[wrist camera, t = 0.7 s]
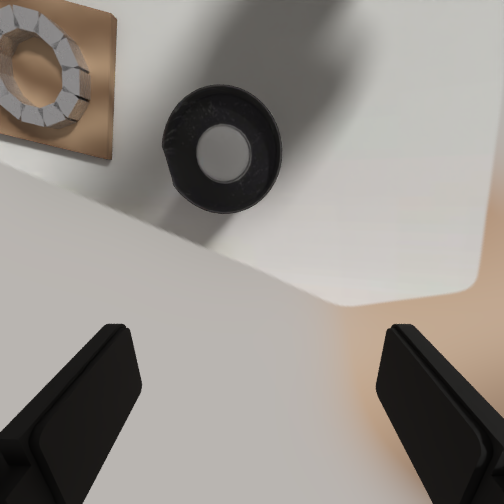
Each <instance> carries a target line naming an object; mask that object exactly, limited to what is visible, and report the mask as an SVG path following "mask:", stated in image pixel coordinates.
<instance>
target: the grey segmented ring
mask: <svg viewBox="0 0 504 504" xmlns="http://www.w3.org/2000/svg"><path fill="white" fill-rule="evenodd" d="M32 37H35V38H39V39H43V40H44V41H46V42H47V43H48V44H49V45H50V46H51V47H52V48H53V50H54V52H55V54H56V57H57V59H58V61H59V63H60V65H61V67H62V90H61V91H60V93H59V95H58V97H57V99H56V100H55V102H54V103H52V104H49V105H47V106H44V107H41V108H38V107H36V106H35V105H34V104H33V103H31V102H30V101H29V100H28V99H27V98H26V97H24V96H23V94H22V93H21V91H20V89H19V87H18V85H17V83H16V81H15V79H14V77H13V65H12V57H13V55H14V53H15V51H16V49H17V47H18V45H19V43H21V42H23V41H26V40H28V39H30V38H32ZM89 72H90V71H89V68H88V66H87V64H86V61H85V59H84V57H83V55H82V52H81V50H80V48H79V46H78V45H76V42H75V41H74V40H73V39H72V38H71V37H70V36H69V35H68V34H67V33H66V32H65V31H64V30H62V29H61V28H60V27H59V26H58V25H57V24H56V23H55V22H53V21H52V20H50V19H49V18H48V17H46V16H45V15H43V14H42V13H40V12H39V11H35V10H32V9H28V8H24V7H21V6H17V5H13V7H12V6H11V5H7V6H5V7H3V8H1V9H0V105H1V106H3V107H4V108H5V109H6V110H7V111H9V112H10V113H11V114H12V115H14V116H15V117H16V118H17V119H18V120H21V121H23V122H27V123H31V124H35V125H39V126H43V127H48V128H53V129H61V128H63V127H66V126H69V125H71V124H74V123H76V122H77V121H76V120H80V118H81V117H82V115H83V113H84V112H85V110H86V109H87V107H88V105H89V104H90V103H89V102H88V101H87V100H86V99H88V100H91V75H89V74H87V73H89Z"/></svg>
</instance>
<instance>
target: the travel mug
mask: <svg viewBox="0 0 504 504" xmlns="http://www.w3.org/2000/svg"><path fill="white" fill-rule="evenodd" d="M162 148H163V150H164V153H165V156H166V160H167V163H168V167H169V170H170V173H171V177H172V180H173V185H174V187H175V188H176V190H177V191H178V192H179V193H180V194H181V195H182V196H183V197H184V198H186V199H187V200H188V201H189V202H191V203H192V204H194V205H195V206H197V207H199V208H201V209H203V210H206V211H209V212H213V213H220V214H230V213H236V212H240V211H243V210H246V209H248V208H250V207H252V206H254V205H255V204H257V203H258V202H259V201H261V200H262V199H263V198H264V197H265V196H266V195H267V193H268V192H269V191H270V190H271V188H272V186H273V185H274V183H275V181H276V179H277V176H278V174H279V170H280V167H281V161H282V142H281V137H280V133H279V130H278V127H277V124H276V122H275V120H274V118H273V116H272V115H271V113H270V112H269V110H268V109H267V108H266V107H265V105H264V104H263V103H262V102H261V101H260V100H259V99H257V98H256V97H255V96H253V95H252V94H250V93H249V92H247V91H245V90H243V89H241V88H238V87H234V86H230V85H210V86H206V87H203V88H200V89H197V90H195V91H194V92H192V93H190V94H189V95H187V96H186V97H185V98H184V99H183V100H182V101H181V102H179V103H178V105H177V106H176V107H175V109H174V110H173V112H172V113H171V115H170V117H169V119H168V122H167V124H166V127H165V130H164V134H163V139H162Z"/></svg>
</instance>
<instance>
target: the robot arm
mask: <svg viewBox="0 0 504 504" xmlns="http://www.w3.org/2000/svg"><path fill="white" fill-rule="evenodd" d="M141 389H142V381H141V377H140V372H139V368H138V363H137V359H136V354H135V350H134V346H133V341H132V337H131V332H130V329H129V328H126V326H125V325H124V324H106V325H105V326H103V327H102V328H101V329H100V330H99V331H98V333H96V335H95V336H94V337H93V338H92V339H91V340H90V341H89V342H88V343H87V344H86V345H85V346H84V347H83V348H82V349H81V350H80V351H79V352H78V353H77V354H76V355H75V356H74V357H73V358H72V359H71V360H70V361H69V362H68V363H67V364H66V365H65V366H64V367H63V368H62V370H60V372H59V373H58V374H57V375H56V376H55V377H54V378H53V379H52V380H51V381H50V382H49V383H48V384H47V385H46V386H45V387H44V388H43V389H42V390H41V391H40V392H39V393H38V394H37V395H36V396H35V397H34V398H33V399H32V400H31V401H30V402H29V403H28V404H27V405H26V406H25V408H24V409H23V410H22V411H21V412H20V413H19V414H18V415H17V416H16V417H15V418H14V419H13V420H12V421H11V422H10V423H9V424H8V425H7V426H6V427H5V428H4V429H3V430H2V431H1V432H0V504H83V502H84V500H85V498H86V496H87V494H88V492H89V490H90V488H91V486H92V485H93V483H94V481H95V479H96V477H97V475H98V473H99V471H100V469H101V467H102V465H103V464H104V462H105V460H106V458H107V456H108V454H109V452H110V450H111V448H112V446H113V444H114V443H115V441H116V439H117V437H118V435H119V433H120V431H121V429H122V427H123V425H124V423H125V421H126V420H127V418H128V416H129V414H130V412H131V410H132V408H133V406H134V404H135V402H136V401H137V399H138V396H139V395H140V393H141ZM376 392H377V395H378V398H379V400H380V402H381V403H382V405H383V407H384V409H385V411H386V413H387V415H388V417H389V419H390V421H391V423H392V425H393V427H394V429H395V431H396V433H397V434H398V437H399V439H400V440H401V442H402V444H403V446H404V448H405V450H406V452H407V454H408V456H409V458H410V460H411V462H412V464H413V466H414V468H415V469H416V471H417V474H418V475H419V477H420V479H421V481H422V483H423V485H424V487H425V489H426V491H427V493H428V495H429V497H430V499H431V501H432V503H433V504H504V418H503V417H502V416H501V415H500V414H499V413H498V412H497V411H496V410H495V409H494V408H493V407H492V406H491V405H490V404H489V403H488V402H487V401H486V400H485V399H484V398H483V397H482V396H481V395H480V394H479V393H478V392H477V391H476V389H475V388H474V387H473V386H471V384H470V383H469V382H468V381H467V380H466V379H465V378H464V377H463V376H462V375H461V374H460V373H459V372H458V371H457V370H456V369H455V368H454V367H453V366H452V365H451V364H450V363H449V362H448V361H447V360H446V358H444V356H443V355H442V354H441V353H440V352H439V351H438V350H437V349H436V348H435V347H434V346H433V345H432V344H431V343H430V342H429V341H428V340H427V339H426V338H425V337H424V336H423V335H422V334H421V333H420V332H419V331H418V330H417V329H416V328H415V326H413V325H411V324H394V325H392V327H391V328H389V329H387V331H386V336H385V341H384V346H383V351H382V356H381V362H380V367H379V372H378V377H377V382H376Z"/></svg>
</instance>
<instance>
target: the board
mask: <svg viewBox="0 0 504 504" xmlns="http://www.w3.org/2000/svg"><path fill="white" fill-rule="evenodd" d="M7 5H11V6H12V7H13V5H17V6H21V7H24V8H28V9H32V10H35V11H39V12H40V13H42V14H43V15H45V16H46V17H48V18H49V19H50V20H52V21H53V22H55V23H56V24H57V25H58V26H59V27H60V28H61V29H62V30H64V31H65V32H66V33H67V34H68V35H69V36H70V37H71V38H72V39H73V40H74V41H75V42H76V45H78V46H79V48H80V50H81V52H82V55H83V57H84V59H85V61H86V64H87V66H88V68H89V71H90V72H89V73H87V74H89V75H91V100H88V99H86V100H87V101H88V102H89V103H90V104H89V105H88V107H87V109H86V110H85V112H84V113H83V115H82V117H81V118H80V120H76V121H77V122H76V123H74V124H71V125H69V126H66V127H63V128H61V129H53V128H48V127H43V126H39V125H35V124H31V123H27V122H23V121H21V120H18V119H17V118H16V117H15V116H14V115H12V114H11V113H10V112H9V111H7V110H6V109H5V108H4V107H3V106H1V105H0V133H1V134H5V135H9V136H13V137H17V138H22V139H26V140H30V141H34V142H38V143H42V144H46V145H50V146H54V147H58V148H63V149H67V150H71V151H75V152H79V153H83V154H87V155H91V156H95V157H99V158H104V159H111V160H112V140H113V114H114V87H115V61H116V34H117V19H116V18H115V17H114V16H113V15H112V14H111V13H108V12H104V11H101V10H97V9H93V8H90V7H86V6H82V5H79V4H75V3H72V2H68V1H64V0H0V9H1V8H3V7H5V6H7ZM12 65H13V77H14V79H15V81H16V83H17V85H18V87H19V89H20V91H21V93H22V94H23V96H24V97H26V98H27V99H28V100H29V101H30V102H31V103H33V104H34V105H35V106H36V107H38V108H41V107H44V106H47V105H49V104H52V103H54V102H55V100H56V99H57V97H58V95H59V93H60V91H61V90H62V67H61V65H60V63H59V61H58V59H57V57H56V54H55V52H54V50H53V48H52V47H51V46H50V45H49V44H48V43H47V42H46V41H44V40H43V39H39V38H35V37H32V38H30V39H28V40H26V41H23V42H21V43H19V45H18V47H17V49H16V51H15V53H14V55H13V57H12Z"/></svg>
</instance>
